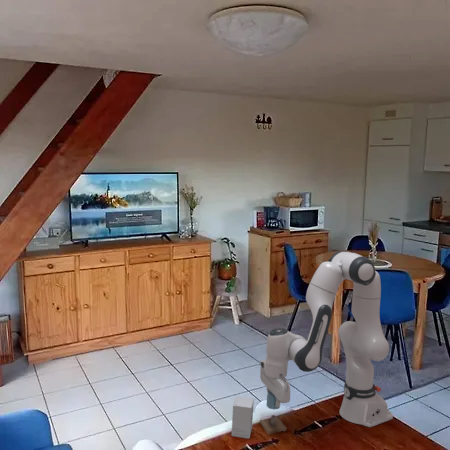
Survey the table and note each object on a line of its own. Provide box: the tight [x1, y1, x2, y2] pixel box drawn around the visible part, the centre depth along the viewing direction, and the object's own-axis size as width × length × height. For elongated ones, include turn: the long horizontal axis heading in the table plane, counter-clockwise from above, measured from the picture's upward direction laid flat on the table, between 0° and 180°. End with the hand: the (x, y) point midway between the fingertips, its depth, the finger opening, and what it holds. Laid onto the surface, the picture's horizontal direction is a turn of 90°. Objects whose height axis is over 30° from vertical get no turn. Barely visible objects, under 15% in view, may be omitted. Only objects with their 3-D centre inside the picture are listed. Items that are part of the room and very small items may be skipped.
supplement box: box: [231, 396, 255, 439], centre depth 176 cm, size 7×7×13 cm
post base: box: [259, 414, 288, 435], centre depth 181 cm, size 8×8×4 cm
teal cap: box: [266, 391, 280, 411], centre depth 180 cm, size 5×5×5 cm
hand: (273, 402), depth 180 cm, fingers closed on teal cap, 5 cm apart
